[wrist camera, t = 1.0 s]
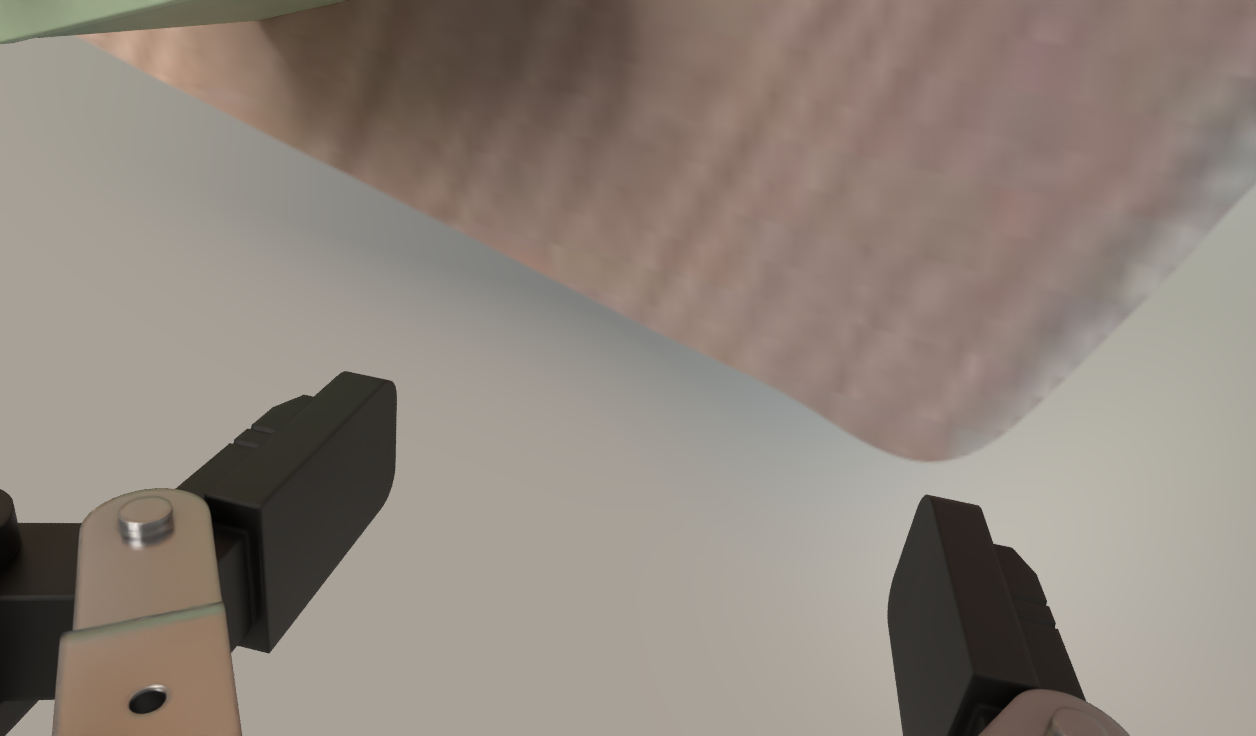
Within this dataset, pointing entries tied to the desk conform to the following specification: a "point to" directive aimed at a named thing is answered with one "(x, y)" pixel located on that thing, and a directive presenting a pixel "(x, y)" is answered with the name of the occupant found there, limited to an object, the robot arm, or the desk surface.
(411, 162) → the desk surface
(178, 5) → the chest
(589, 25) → the desk surface
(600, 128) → the desk surface
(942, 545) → the robot arm
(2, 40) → the lid
